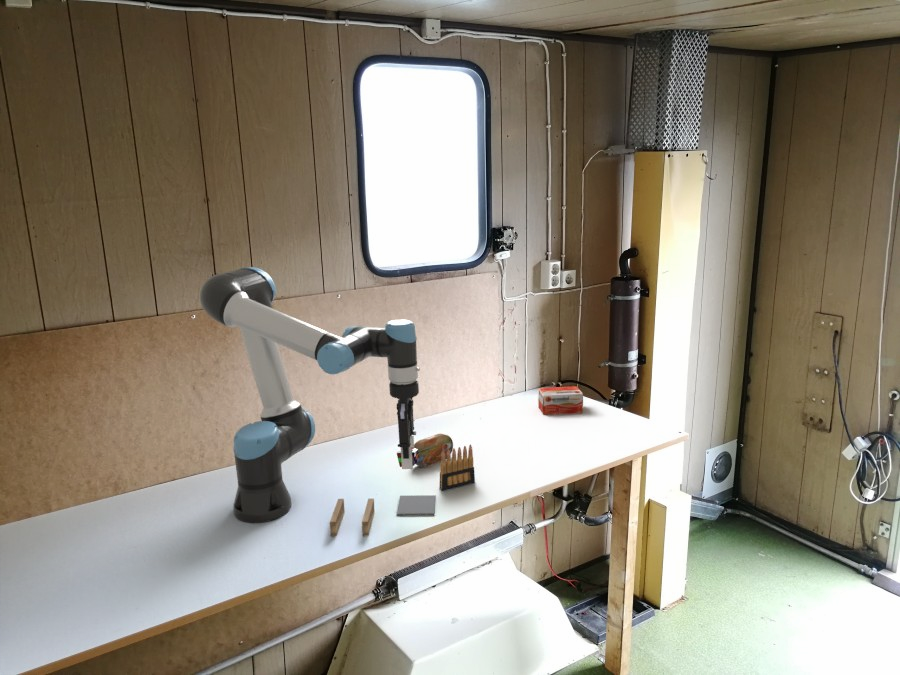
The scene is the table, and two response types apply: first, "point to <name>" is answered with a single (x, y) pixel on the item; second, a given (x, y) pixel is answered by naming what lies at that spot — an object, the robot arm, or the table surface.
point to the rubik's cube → (414, 456)
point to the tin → (432, 449)
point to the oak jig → (339, 514)
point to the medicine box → (560, 400)
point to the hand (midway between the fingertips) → (408, 463)
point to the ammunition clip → (456, 469)
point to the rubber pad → (416, 505)
